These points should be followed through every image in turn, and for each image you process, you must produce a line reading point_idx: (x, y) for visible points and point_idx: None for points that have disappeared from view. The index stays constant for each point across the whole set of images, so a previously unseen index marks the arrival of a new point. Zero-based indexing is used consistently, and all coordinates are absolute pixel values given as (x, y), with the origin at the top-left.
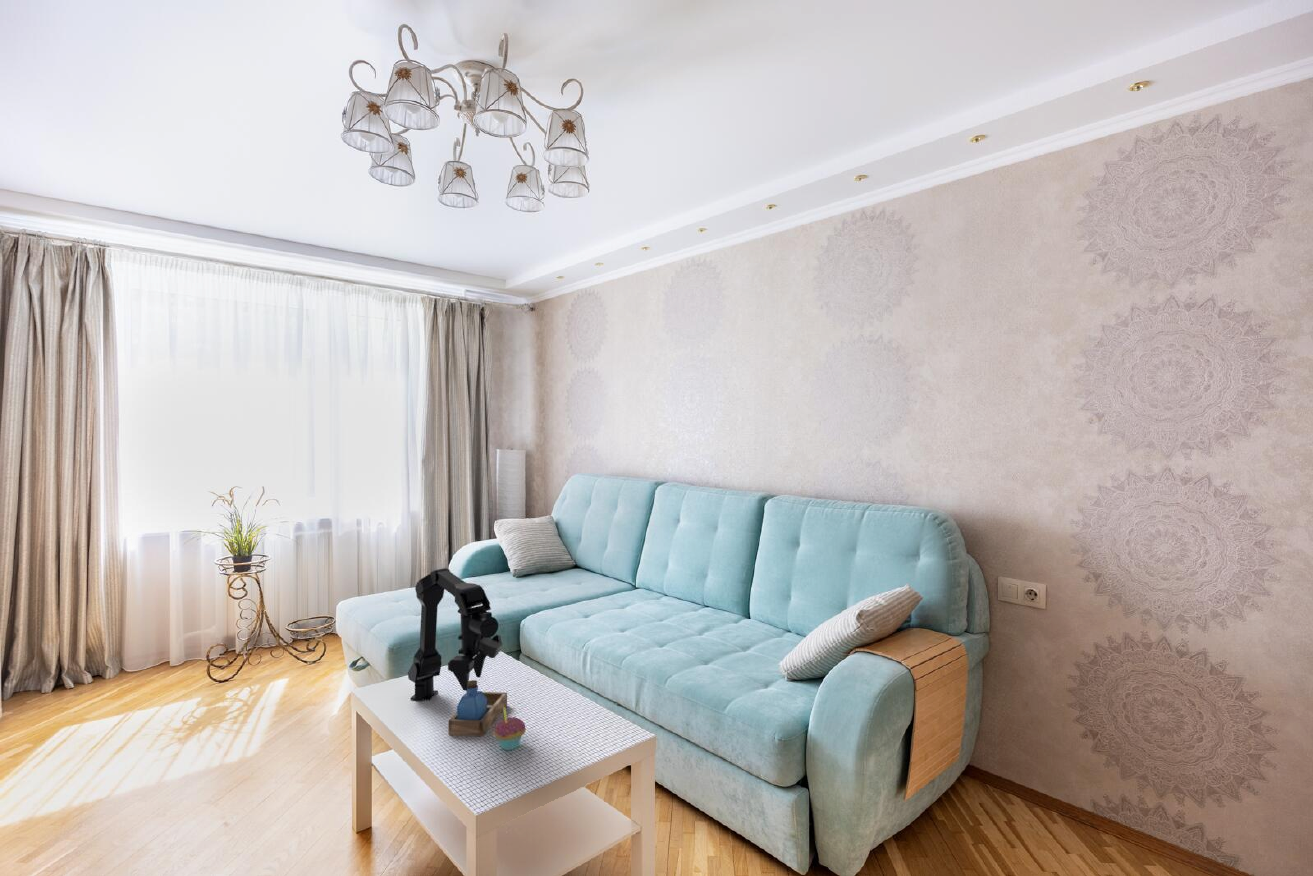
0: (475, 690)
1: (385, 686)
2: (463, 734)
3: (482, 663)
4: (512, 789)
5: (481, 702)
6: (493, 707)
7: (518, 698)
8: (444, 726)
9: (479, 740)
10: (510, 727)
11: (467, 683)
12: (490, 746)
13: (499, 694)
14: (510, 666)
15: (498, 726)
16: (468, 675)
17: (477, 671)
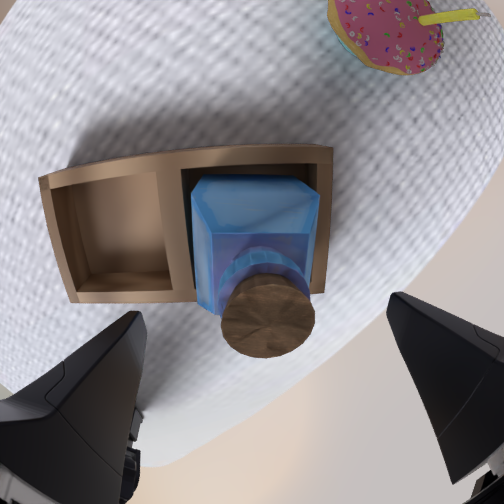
0: (287, 258)
1: None
2: None
3: (78, 385)
4: (496, 32)
5: (261, 196)
6: (176, 158)
7: (21, 159)
8: None
9: (341, 145)
10: (433, 9)
11: (445, 312)
12: (374, 95)
13: (54, 202)
14: None
15: (432, 51)
16: (498, 345)
17: (132, 362)
